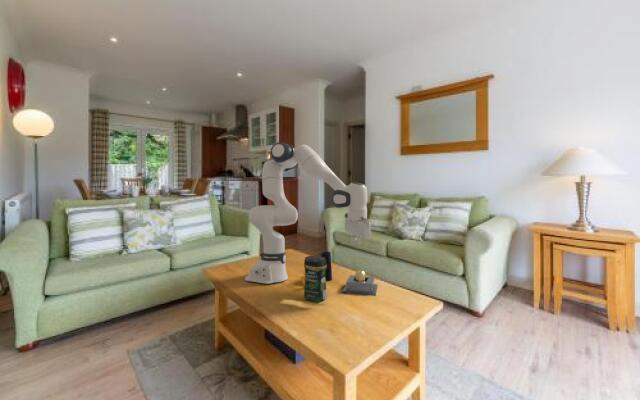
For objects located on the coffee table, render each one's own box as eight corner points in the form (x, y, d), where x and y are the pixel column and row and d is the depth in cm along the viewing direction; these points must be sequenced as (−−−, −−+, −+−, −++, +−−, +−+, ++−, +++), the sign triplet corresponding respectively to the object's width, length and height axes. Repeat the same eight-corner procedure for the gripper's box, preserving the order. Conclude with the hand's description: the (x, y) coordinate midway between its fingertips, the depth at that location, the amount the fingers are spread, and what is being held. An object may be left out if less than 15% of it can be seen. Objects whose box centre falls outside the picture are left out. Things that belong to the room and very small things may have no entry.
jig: (342, 292, 131) (342, 282, 131) (347, 283, 145) (347, 274, 145) (375, 295, 128) (375, 284, 128) (377, 285, 141) (377, 276, 141)
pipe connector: (315, 285, 143) (313, 256, 143) (310, 282, 148) (308, 254, 147) (334, 280, 149) (332, 252, 149) (328, 278, 154) (327, 250, 153)
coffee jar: (301, 299, 123) (300, 256, 123) (311, 294, 130) (311, 253, 130) (319, 303, 118) (319, 259, 118) (329, 298, 125) (329, 255, 124)
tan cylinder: (355, 289, 134) (355, 272, 134) (356, 286, 138) (356, 269, 138) (364, 289, 133) (364, 272, 133) (365, 287, 137) (365, 270, 137)
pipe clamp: (300, 282, 148) (300, 270, 148) (308, 281, 149) (308, 269, 149) (308, 289, 137) (308, 276, 137) (316, 288, 138) (316, 275, 138)
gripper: (374, 218, 130) (374, 248, 131) (353, 213, 149) (353, 239, 150) (362, 218, 128) (362, 249, 129) (342, 213, 147) (342, 240, 148)
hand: (357, 243), depth 139 cm, fingers closed
